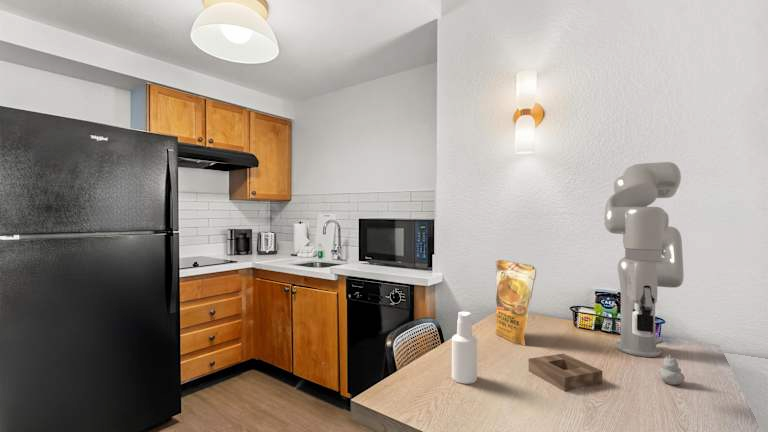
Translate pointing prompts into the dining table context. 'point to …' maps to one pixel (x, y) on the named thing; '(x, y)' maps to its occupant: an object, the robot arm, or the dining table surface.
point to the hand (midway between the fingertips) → (642, 327)
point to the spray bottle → (464, 351)
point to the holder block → (565, 371)
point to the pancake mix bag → (513, 299)
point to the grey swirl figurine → (671, 372)
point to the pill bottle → (634, 324)
